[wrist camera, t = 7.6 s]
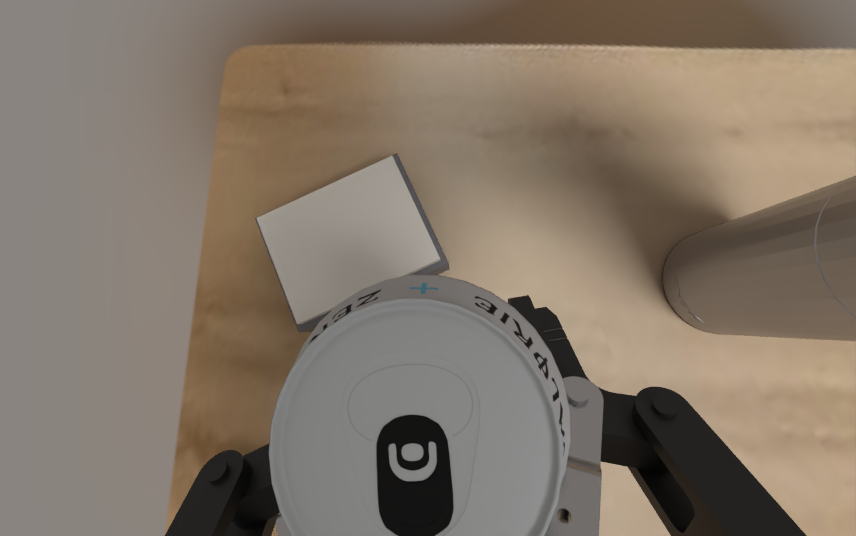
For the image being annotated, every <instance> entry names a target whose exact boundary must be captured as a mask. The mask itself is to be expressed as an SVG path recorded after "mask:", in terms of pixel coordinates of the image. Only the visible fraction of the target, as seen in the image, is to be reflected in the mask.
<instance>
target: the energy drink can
mask: <svg viewBox="0 0 856 536" xmlns="http://www.w3.org/2000/svg"><path fill="white" fill-rule="evenodd" d="M570 441H571V439H570V409H569V405H568V400H567V396H566V391H565V387H564V382H563V379H562V377H561V374H560V372H559V370H558V367H557V365H556V363H555V360H554V358H553V356H552V353H551V352H550V350H549V349H548V347H547V346H546V344H545V343H544V341H543V340H542V338H541V337H540V335H539V334H538V332H537V331H536V329H535V328H534V327H533V326H532V325H531V324H530V323H529V322H528V321H527V320H526V319H525V318H524V317H523V316H522V315H521V314H520V313H519V312H518V311H517V310H516V309H515V308H514V307H512V306H511V305H509V304H508V303H507V302H505V301H504V300H502V299H501V298H499V297H498V296H496V295H495V294H493V293H492V292H490V291H488V290H485V289H483V288H481V287H478V286H476V285H474V284H471V283H469V282H467V281H463V280H458V279H454V278H449V277H444V276H439V275H409V276H404V277H398V278H393V279H387V280H384V281H382V282H379V283H376V284H374V285H371V286H369V287H366V288H364V289H361V290H360V291H358V292H356V293H355V294H353V295H352V296H350V297H349V298H347V299H346V300H344V301H342V302H341V303H339V304H338V305H337V306H336V307H335V308H334V309H333V310H332V311H331V312H330V313H329V314H328V315H326V316H325V317H324V318H323V319H322V320H321V321H320V322H319V323H318V325H317V326H316V327H315V329H314V330H313V332H312V333H311V334H310V336H309V337H308V339H307V340H306V341H305V343H304V344H303V346H302V348H301V350H300V352H299V354H298V357H297V359H296V361H295V363H294V365H293V367H292V368H291V370H290V372H289V374H288V376H287V378H286V380H285V382H284V385H283V387H282V389H281V391H280V393H279V395H278V399H277V403H276V407H275V410H274V414H273V418H272V422H271V431H270V443H269V461H270V471H271V481H272V486H273V490H274V493H275V497H276V500H277V504H278V507H279V511H280V513H281V515H282V517H283V519H284V521H285V523H286V525H287V527H288V529H289V532H290V534H291V536H544V535H545V533H546V532H547V529H548V527H549V524H550V521H551V519H552V516H553V514H554V511H555V508H556V506H557V503H558V499H559V493H560V487H561V482H562V479H563V477H564V474H565V471H566V465H567V459H568V453H569V447H570Z"/></svg>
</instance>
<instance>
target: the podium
mask: <svg viewBox="0 0 856 536" xmlns="http://www.w3.org/2000/svg"><path fill="white" fill-rule="evenodd" d="M256 222H257V224H258V227H259V229H260V232H261V235H262V237H263V240H264V242H265V245H266V248H267V250H268V253H269V256H270V258H271V261H272V263H273V266H274V269H275V271H276V274H277V276H278V279H279V282H280V284H281V287H282V289H283V292H284V295H285V297H286V300H287V303H288V305H289V308H290V310H291V313H292V316H293V318H294V321H295V323H296V326H297V329H298V331H299V332H305V331H313V330H314V329H315V327H316V326H317V325H318V323H319V322H320V321H321V320H322V319H323V318H324V317H325V316H326V315H328V314H329V313H330V312H331V311H332V310H333V309H334V308H335V307H336V306H337V305H338V304H339V303H341V302H342V301H344V300H346V299H347V298H349V297H350V296H352V295H353V294H355V293H356V292H358V291H360V290H361V289H364V288H366V287H369V286H371V285H374V284H376V283H379V282H382V281H384V280H387V279H393V278H398V277H404V276H409V275H437V274H440V273H442V272H444V271H446V270H448V269H449V263H448V261H447V259H446V257H445V255H444V253H443V251H442V248H441V246H440V244H439V242H438V240H437V238H436V236H435V233H434V231H433V229H432V227H431V225H430V223H429V221H428V218H427V216H426V214H425V212H424V210H423V208H422V206H421V204H420V201H419V199H418V197H417V195H416V193H415V191H414V189H413V186H412V184H411V182H410V180H409V178H408V176H407V174H406V171H405V169H404V167H403V165H402V163H401V161H400V159H399V157H398V154H394V155H392V156H390V157H388V158H386V159H383V160H381V161H379V162H377V163H375V164H373V165H370V166H368V167H366V168H364V169H362V170H360V171H357V172H355V173H353V174H351V175H349V176H347V177H344V178H342V179H340V180H338V181H336V182H333V183H331V184H329V185H327V186H325V187H323V188H320V189H318V190H316V191H314V192H312V193H310V194H307V195H305V196H303V197H301V198H299V199H297V200H294V201H292V202H290V203H288V204H286V205H284V206H281V207H279V208H277V209H275V210H273V211H271V212H268V213H266V214H264V215H262V216H260V217H258V218H256Z"/></svg>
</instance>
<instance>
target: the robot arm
mask: <svg viewBox="0 0 856 536" xmlns="http://www.w3.org/2000/svg"><path fill="white" fill-rule="evenodd" d="M663 285H664V290H665V294H666V296H667V298H668V301H669V303H670V305H671V306H672V307H673V309H674V310H675V312H676V313H677V314H678V315H679V316H680V317H681V318H682V319H683V320H684V321H686V322H687V323H689V324H690V325H692V326H693V327H695V328H698V329H700V330H703V331H705V332H709V333H714V334H724V335H744V336H760V337H779V338H799V339H819V340H839V341H856V176H854V177H851V178H848V179H845V180H843V181H840V182H837V183H834V184H832V185H829V186H826V187H823V188H820V189H818V190H815V191H812V192H809V193H807V194H804V195H801V196H798V197H796V198H793V199H790V200H787V201H784V202H782V203H779V204H776V205H773V206H771V207H768V208H765V209H762V210H760V211H757V212H754V213H751V214H748V215H746V216H743V217H740V218H737V219H735V220H732V221H729V222H726V223H723V224H720V225H717V226H715V227H712V228H709V229H706V230H704V231H701V232H698V233H695V234H693V235H691V236H689V237H686V238H685V239H683V240H682V241H681V242H679V243H678V244H677V245H676V246H675V247H674V248H673V250H672V251H671V252H670V254H669V256H668V258H667V259H666V262H665V266H664V270H663ZM508 304H509V305H511V306H512V307H514V308H515V309H516V310H517V311H518V312H519V313H520V314H521V315H522V316H523V317H524V318H525V319H526V320H527V321H528V322H529V323H530V324H531V325H532V326H533V327H534V328H535V329H536V331H537V332H538V334H539V335H540V337H541V338H542V340H543V341H544V343H545V344H546V346H547V347H548V349H549V350H550V352H551V353H552V356H553V358H554V360H555V363H556V365H557V367H558V370H559V372H560V374H561V377H562V379H563V382H564V387H565V391H566V396H567V400H568V405H569V409H570V439H571V441H570V447H569V453H568V459H567V465H566V471H565V474H564V477H563V479H562V482H561V487H560V493H559V499H558V503H557V506H556V508H555V511H554V514H553V516H552V519H551V521H550V524H549V527H548V529H547V532H546V533H545V535H544V536H599V520H600V499H601V469H600V461H602V462H607V463H612V464H617V465H622V466H628V468H629V470H630V471H631V473H632V474H633V476H634V478H635V479H636V481H637V482H638V484H639V486H640V487H641V489H642V490H643V492H644V493H645V495H646V497H647V498H648V500H649V501H650V503H651V505H652V506H653V508H654V509H655V511H656V513H657V514H658V516H659V517H660V519H661V520H662V522H663V524H664V525H665V527H666V528H667V530H668V532H669V533H670V535H671V536H806V535H805V533H804V532H803V531H802V530H801V529H800V528H799V527H798V526H797V524H796V523H795V522H794V521H793V520H792V519H791V518H790V517H789V515H788V514H787V513H786V512H785V511H784V510H783V509H782V508H781V506H780V505H779V504H778V503H777V502H776V501H775V500H774V499H773V497H772V496H771V495H770V494H769V493H768V492H767V491H766V490H765V488H764V487H763V486H762V485H761V484H760V483H759V482H758V481H757V479H756V478H755V477H754V476H753V475H752V474H751V473H750V472H749V470H748V469H747V468H746V467H745V466H744V465H743V464H742V463H741V461H740V460H739V459H738V458H737V457H736V456H735V455H734V454H733V452H732V451H731V450H730V449H729V448H728V447H727V446H726V445H725V443H724V442H723V441H722V440H721V439H720V438H719V437H718V436H717V434H716V433H715V432H714V431H713V430H712V429H711V428H710V427H709V425H708V424H707V423H706V422H705V421H704V420H703V419H702V418H701V416H700V415H699V414H698V413H697V412H696V411H695V410H694V409H693V407H692V406H691V405H690V404H689V403H688V402H687V401H686V400H685V399H684V398H683V397H682V396H680V395H679V394H677V393H676V392H674V391H672V390H669V389H666V388H662V387H648V388H645V389H643V390H641V391H640V392H639V393H638V394H637V396H632V395H625V394H618V393H612V392H608V391H605V390H603V389H601V388H599V387H597V386H596V385H595V384H594V383H592V382H591V381H590V380H589V379H588V378H587V377H586V375H585V373H584V371H583V369H582V367H581V365H580V363H579V361H578V359H577V357H576V355H575V353H574V351H573V349H572V347H571V345H570V342H569V340H568V339H567V336H566V334H565V332H564V330H563V329H562V326H561V324H560V322H559V320H558V318H557V316H556V315H555V314H554V313H552V312H551V311H550V310H549V309H548V308H547V307H543V308H537V309H535V308H534V306H533V304H532V301H531V299H530V297H529V296H528V295H527V296H521V297H515V298H509V299H508ZM279 513H280V511H279V507H278V504H277V500H276V497H275V493H274V490H273V486H272V481H271V471H270V461H269V444H267V445H265V446H263V447H261V448H259V449H257V450H255V451H253V452H251V453H249V454H247V455H244V456H242V455H241V454H240V453H239V452H237V451H235V450H227V451H224V452H221V453H219V454H217V455H215V456H214V457H213V458H211V459H210V460H209V461H208V462H207V463H206V464H205V465H204V466H203V468H202V469H201V471H200V472H199V474H198V476H197V478H196V479H195V481H194V483H193V485H192V487H191V489H190V490H189V492H188V494H187V496H186V498H185V500H184V501H183V503H182V505H181V507H180V509H179V511H178V513H177V514H176V516H175V518H174V520H173V522H172V524H171V525H170V527H169V529H168V531H167V533H166V535H165V536H271V534H272V531H273V529H274V526H275V523H276V528H277V534H278V536H291V534H290V532H289V529H288V527H287V525H286V523H285V521H284V519H283V517H282V515H281V513H280V514H279ZM278 514H279V515H278Z"/></svg>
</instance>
